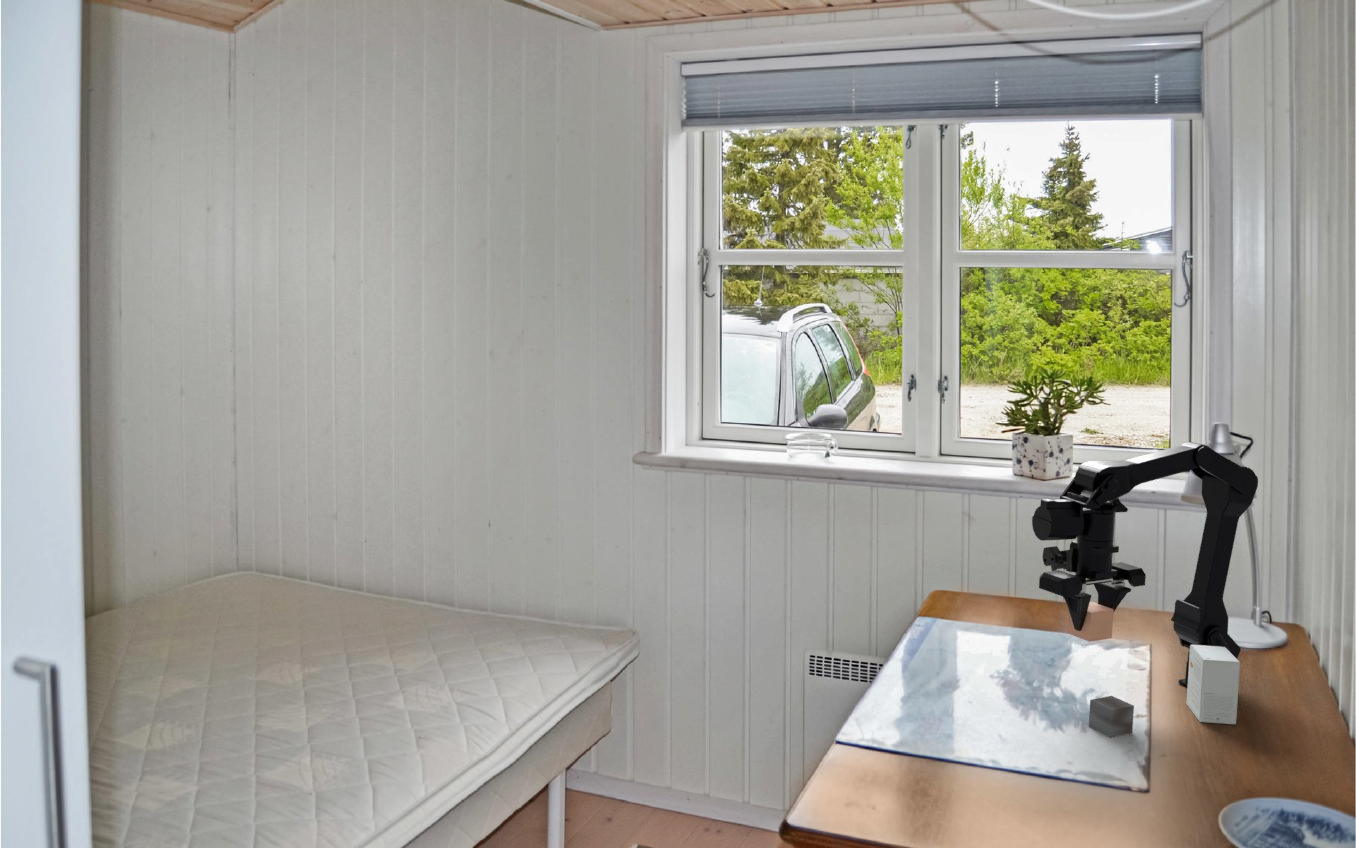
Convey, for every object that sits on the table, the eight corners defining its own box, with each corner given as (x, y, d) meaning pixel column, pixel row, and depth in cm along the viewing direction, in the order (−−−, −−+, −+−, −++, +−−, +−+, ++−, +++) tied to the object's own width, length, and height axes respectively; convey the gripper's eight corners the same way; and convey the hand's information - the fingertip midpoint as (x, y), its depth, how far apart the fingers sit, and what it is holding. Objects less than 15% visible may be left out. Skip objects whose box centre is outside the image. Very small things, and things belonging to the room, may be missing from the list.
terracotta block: (1088, 629, 183) (1090, 601, 183) (1111, 638, 179) (1113, 609, 178) (1067, 633, 181) (1068, 604, 181) (1089, 641, 177) (1091, 612, 176)
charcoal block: (1109, 722, 171) (1111, 695, 170) (1132, 733, 167) (1133, 705, 166) (1088, 727, 169) (1090, 699, 168) (1110, 738, 165) (1112, 710, 164)
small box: (1236, 726, 170) (1241, 662, 168) (1198, 722, 171) (1203, 659, 169) (1221, 707, 177) (1226, 646, 176) (1185, 704, 179) (1189, 643, 177)
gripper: (1099, 523, 189) (1094, 609, 191) (1018, 532, 181) (1013, 621, 183) (1150, 537, 179) (1144, 627, 181) (1066, 547, 171) (1061, 640, 173)
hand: (1089, 628), depth 180 cm, fingers closed on terracotta block, 5 cm apart
